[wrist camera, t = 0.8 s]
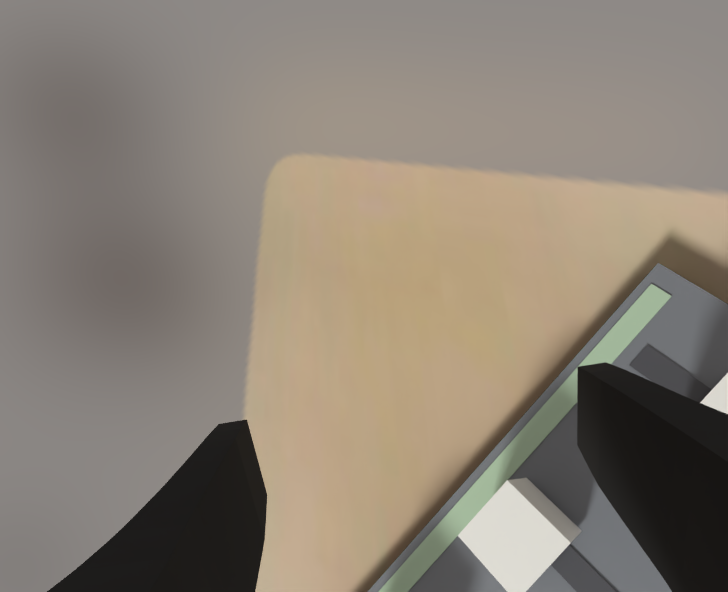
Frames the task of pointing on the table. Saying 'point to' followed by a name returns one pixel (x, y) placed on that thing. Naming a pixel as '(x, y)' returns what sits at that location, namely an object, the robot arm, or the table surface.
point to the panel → (578, 452)
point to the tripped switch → (718, 396)
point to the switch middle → (518, 534)
